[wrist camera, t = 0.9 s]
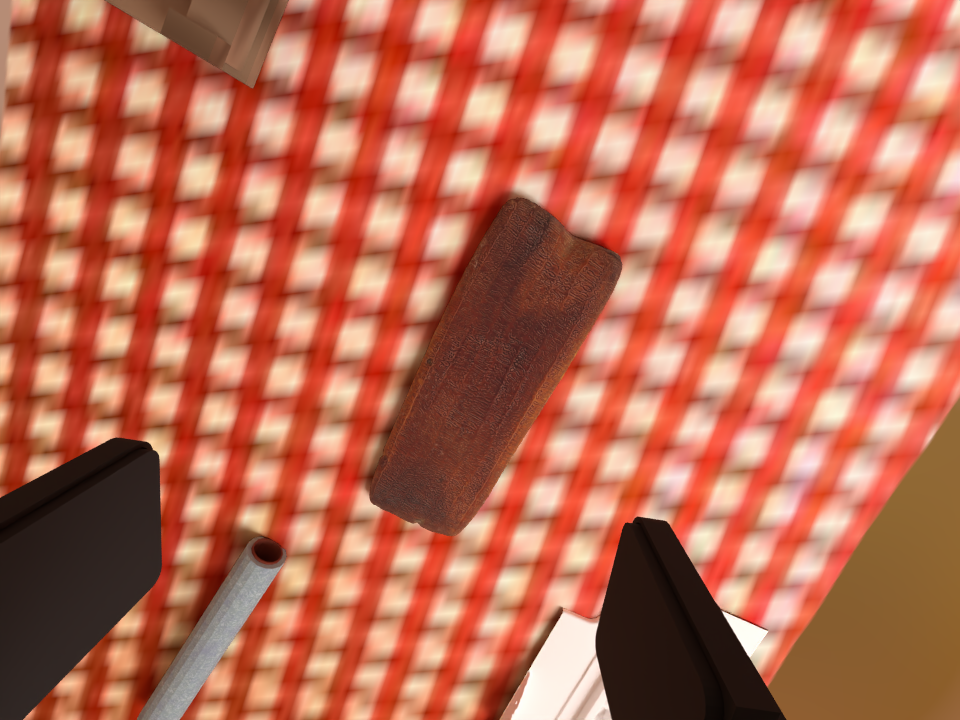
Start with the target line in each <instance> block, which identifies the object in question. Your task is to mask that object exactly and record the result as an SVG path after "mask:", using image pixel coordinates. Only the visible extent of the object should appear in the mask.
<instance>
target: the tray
mask: <svg viewBox="0 0 960 720" xmlns="http://www.w3.org/2000/svg"><path fill="white" fill-rule="evenodd" d="M722 613H723V614H724V616H725V618H726V619H727V621H728V623H729V624H730V626H731V628H732V629H733V631H734V633H735V634H736V636H737V638H738V639H739V641H740V643H741V644H742V646H743V648H744V650H745V651H746V653H747V655H748V656H749V658H750V656H751V655H752V653H753V652H754V651H755V649H756V648H757V646H758V645H759V643H760V642H761V641H762V639H763V638H764V636H765V635H766V634H767V632H768V631H766V630H764V629H762V628H759V627H757V626H755V625H753V624H750V623H748V622H746V621H743V620H741V619H739V618H737V617H734V616H732V615H730V614H728V613H725V612H723V611H722ZM599 619H600V616H599V617H597V618H594V619H589V618H586V617H583V616H581V615H579V614H576V613H574V612H572V611H569V610H567V609H565V608H563V614H562V615H561V617H560V619H559V620H558V622H557V624H556V625H555V627H554V629H553V630H552V632H551V634H550V635H549V637H548V639H547V640H546V642H545V644H544V645H543V647H542V649H541V650H540V652H539V654H538V655H537V657H536V659H535V661H534V662H533V664H532V666H531V667H530V669H529V671H528V672H527V674H526V676H525V677H524V679H523V681H522V683H521V684H520V686H519V687H518V689H517V691H516V693H515V694H514V696H513V698H512V699H511V701H510V703H509V704H508V706H507V708H506V709H505V711H504V713H503V714H502V716H501V718H500V719H499V720H612V719H611V714H610V710H609V706H608V702H607V697H606V693H605V689H604V685H603V681H602V676H601V672H600V668H599V664H598V659H597V655H596V648H595V637H596V631H597V627H598V623H599Z"/></svg>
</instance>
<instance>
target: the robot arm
mask: <svg viewBox="0 0 960 720" xmlns="http://www.w3.org/2000/svg"><path fill="white" fill-rule="evenodd" d="M161 568H162V552H161V508H160V463H159V455H158V453H157V452H156V451H154V450H153V448H152V446H151V444H149V443H148V442H144V441H137V440H131V439H124V438H113V439H110V440H108V441H106V442H105V443H103V444H101V445H99V446H97V447H95V448H93V449H91V450H89V451H88V452H86V453H84V454H82V455H80V456H78V457H76V458H74V459H73V460H71V461H69V462H67V463H65V464H63V465H61V466H59V467H57V468H56V469H54V470H52V471H50V472H48V473H46V474H44V475H42V476H40V477H39V478H37V479H35V480H33V481H31V482H29V483H27V484H25V485H23V486H22V487H20V488H18V489H16V490H14V491H12V492H10V493H8V494H6V495H5V496H3V497H1V498H0V720H23V719H24V718H25V717H26V716H27V715H28V714H29V713H30V712H31V711H32V710H33V709H34V708H35V707H36V706H37V704H38V703H39V702H40V701H41V700H42V699H43V698H44V697H45V696H46V695H47V694H48V693H49V692H50V691H51V690H52V689H53V688H54V687H55V686H56V685H57V684H58V683H59V682H60V681H61V680H62V679H63V678H64V677H65V676H66V675H67V674H68V673H69V672H70V671H71V670H72V669H73V668H74V667H75V666H76V665H77V664H78V663H79V662H80V661H81V660H82V658H83V657H84V656H85V655H86V654H87V653H88V652H89V651H90V650H91V649H92V648H93V647H94V646H95V645H96V644H97V643H98V642H99V641H100V640H101V639H102V638H103V637H104V636H105V635H106V634H107V633H108V632H109V631H110V630H111V629H112V628H113V627H114V626H115V625H116V624H117V623H118V622H119V621H120V620H121V619H122V618H123V617H124V616H125V615H126V613H127V612H128V611H129V610H130V609H131V608H132V607H133V606H134V605H135V604H136V603H137V602H138V601H139V600H140V599H141V598H142V597H143V596H144V595H145V594H146V593H147V592H148V591H149V590H150V589H151V588H152V587H153V586H154V584H155V583H156V581H157V580H158V578H159V575H160V572H161ZM595 648H596V655H597V659H598V664H599V668H600V672H601V676H602V681H603V685H604V689H605V693H606V697H607V702H608V706H609V710H610V714H611V719H612V720H786V718H785V717H784V715H783V713H782V712H781V710H780V708H779V707H778V705H777V703H776V702H775V700H774V698H773V697H772V695H771V693H770V691H769V690H768V688H767V686H766V685H765V683H764V681H763V680H762V678H761V676H760V675H759V673H758V671H757V670H756V668H755V666H754V665H753V663H752V661H751V660H750V658H749V656H748V655H747V653H746V651H745V650H744V648H743V646H742V644H741V643H740V641H739V639H738V638H737V636H736V634H735V633H734V631H733V629H732V628H731V626H730V624H729V623H728V621H727V619H726V618H725V616H724V614H723V613H722V611H721V609H720V608H719V606H718V605H717V604H716V602H715V601H714V599H713V598H712V596H711V594H710V593H709V591H708V589H707V587H706V586H705V584H704V582H703V581H702V579H701V577H700V576H699V574H698V572H697V571H696V569H695V567H694V566H693V564H692V562H691V561H690V559H689V557H688V555H687V554H686V552H685V550H684V549H683V547H682V545H681V544H680V542H679V540H678V539H677V537H676V535H675V534H674V532H673V530H672V528H671V527H670V525H669V524H668V523H667V521H663V520H656V519H650V518H643V517H636V518H635V519H634V521H633V523H625V525H624V526H623V529H622V533H621V537H620V541H619V545H618V549H617V553H616V556H615V560H614V564H613V568H612V572H611V576H610V580H609V584H608V588H607V592H606V595H605V599H604V603H603V607H602V611H601V615H600V619H599V623H598V627H597V631H596V637H595Z"/></svg>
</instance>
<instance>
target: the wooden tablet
mask: <svg viewBox="0 0 960 720" xmlns="http://www.w3.org/2000/svg"><path fill="white" fill-rule="evenodd" d="M621 270H622V262H621V259H620V256H619V255H618V254H617V253H615V252H613V251H611V250H609V249H606V248H604V247H601V246H598V245H596V244H593V243H590V242H587V241H584V240H581V239H579V238H577V237H575V236H573V235H571V234H570V233H569V232H568V231H567V230H566V229H565V228H564V226H563V225H562V224H561V223H560V222H559V221H558V220H557V219H556V218H555V217H554V216H552V215H551V214H550V213H548V212H547V211H546V210H544V209H542V208H541V207H540V206H538V205H537V204H535V203H533V202H531V201H529V200H527V199H524V198H516V199H511V200H509V201H508V202H506V204H504V205H503V206H502V208H501V210H500V211H499V213H498V215H497V216H496V218H495V219H494V221H493V223H492V224H491V226H490V227H489V229H488V231H487V232H486V233H485V235H484V237H483V239H482V240H481V242H480V244H479V246H478V247H477V249H476V251H475V253H474V255H473V257H472V259H471V260H470V262H469V265H468V266H467V268H466V269H465V271H464V273H463V276H462V278H461V280H460V281H459V283H458V285H457V287H456V289H455V291H454V293H453V295H452V297H451V299H450V302H449V304H448V306H447V308H446V310H445V312H444V314H443V316H442V318H441V320H440V322H439V324H438V326H437V328H436V331H435V333H434V335H433V337H432V339H431V342H430V344H429V346H428V349H427V351H426V354H425V356H424V358H423V360H422V362H421V365H420V367H419V369H418V371H417V374H416V376H415V378H414V380H413V382H412V385H411V387H410V389H409V392H408V394H407V396H406V399H405V401H404V403H403V405H402V408H401V410H400V413H399V415H398V418H397V420H396V422H395V424H394V426H393V429H392V431H391V434H390V436H389V438H388V441H387V443H386V445H385V447H384V450H383V454H384V455H383V456H382V457H381V458H380V460H379V464H378V466H377V468H376V471H375V474H374V477H373V480H372V483H371V488H370V501H371V502H372V503H373V504H374V505H376V506H378V507H380V508H381V509H383V510H385V511H388V512H390V513H392V514H394V515H396V516H398V517H400V518H402V519H404V520H406V521H408V522H410V523H419V525H420V526H421V527H423V528H425V529H427V530H430V531H432V532H436V533H440V534H444V535H447V536H455V535H457V534H458V533H460V532H461V531H462V530H463V529H464V528H465V527H466V526H467V525H468V523H469V522H470V521H471V520H472V519H473V517H474V516H475V515H476V514H477V512H478V511H479V509H480V508H481V506H482V505H483V504H484V502H485V500H486V499H487V497H488V496H489V494H490V493H491V491H492V489H493V487H494V486H495V484H496V482H497V481H498V479H499V477H500V475H501V474H502V472H503V471H504V469H505V467H506V466H507V464H508V462H509V461H510V459H511V458H512V456H513V454H514V453H515V451H516V449H517V448H518V446H519V444H520V443H521V442H522V440H523V438H524V437H525V435H526V433H527V432H528V430H529V429H530V427H531V426H532V424H533V423H534V421H535V420H536V418H537V417H538V415H539V413H540V412H541V410H542V409H543V407H544V405H545V404H546V402H547V401H548V399H549V397H550V396H551V394H552V393H553V391H554V390H555V388H556V386H557V385H558V383H559V382H560V380H561V379H562V377H563V376H564V374H565V372H566V371H567V369H568V367H569V365H570V364H571V362H572V361H573V359H574V358H575V356H576V354H577V352H578V351H579V349H580V347H581V345H582V343H583V342H584V340H585V339H586V337H587V335H588V333H589V332H590V331H591V329H592V327H593V325H594V324H595V322H596V320H597V318H598V317H599V315H600V314H601V312H602V311H603V309H604V307H605V305H606V303H607V301H608V300H609V298H610V296H611V294H612V292H613V290H614V288H615V286H616V284H617V281H618V279H619V277H620V274H621Z"/></svg>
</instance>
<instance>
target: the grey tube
mask: <svg viewBox="0 0 960 720" xmlns="http://www.w3.org/2000/svg"><path fill="white" fill-rule="evenodd" d="M286 557H287V556H286V550H285V549H283V548H281V546H280V545H279V544H278V543H276V542H275V541H273V540H271V539H267V538H264V537H262V536H260V537H256V538H253V539H252V540H251V541H249V543H248V544H247V546H246V547H245V549H244V550H243V552H242V554H241V555H240V557H239V558H238V560H237V561H236V563H235V565H234V566H233V568H232V569H231V571H230V572H229V574H228V576H227V577H226V579H225V580H224V582H223V583H222V585H221V587H220V588H219V590H218V591H217V593H216V594H215V596H214V598H213V599H212V601H211V602H210V604H209V605H208V607H207V609H206V610H205V612H204V613H203V615H202V616H201V618H200V620H199V621H198V623H197V624H196V626H195V628H194V629H193V631H192V632H191V634H190V635H189V637H188V639H187V640H186V642H185V643H184V645H183V646H182V648H181V650H180V651H179V653H178V654H177V656H176V657H175V659H174V661H173V662H172V664H171V665H170V667H169V668H168V670H167V672H166V673H165V675H164V676H163V678H162V679H161V681H160V683H159V684H158V686H157V687H156V689H155V690H154V692H153V694H152V695H151V697H150V698H149V700H148V701H147V703H146V705H145V706H144V708H143V709H142V711H141V712H140V714H139V716H138V718H137V720H180V718H181V717H182V715H183V714H184V712H185V711H186V709H187V708H188V706H189V705H190V703H191V702H192V700H193V699H194V697H195V696H196V694H197V693H198V691H199V690H200V688H201V687H202V685H203V684H204V682H205V681H206V679H207V678H208V676H209V675H210V673H211V672H212V670H213V669H214V667H215V666H216V664H217V663H218V661H219V660H220V658H221V657H222V655H223V654H224V652H225V651H226V649H227V648H228V646H229V645H230V643H231V642H232V640H233V639H234V637H235V636H236V634H237V633H238V631H239V630H240V628H241V627H242V625H243V624H244V623H245V621H246V620H247V618H248V617H249V615H250V614H251V612H252V611H253V609H254V608H255V606H256V605H257V603H258V602H259V600H260V599H261V597H262V596H263V594H264V593H265V591H266V590H267V588H268V587H269V585H270V584H271V582H272V581H273V579H274V578H275V576H276V575H277V573H278V572H279V570H280V569H281V567H282V566H283V564H284V563H285V560H286Z"/></svg>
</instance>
